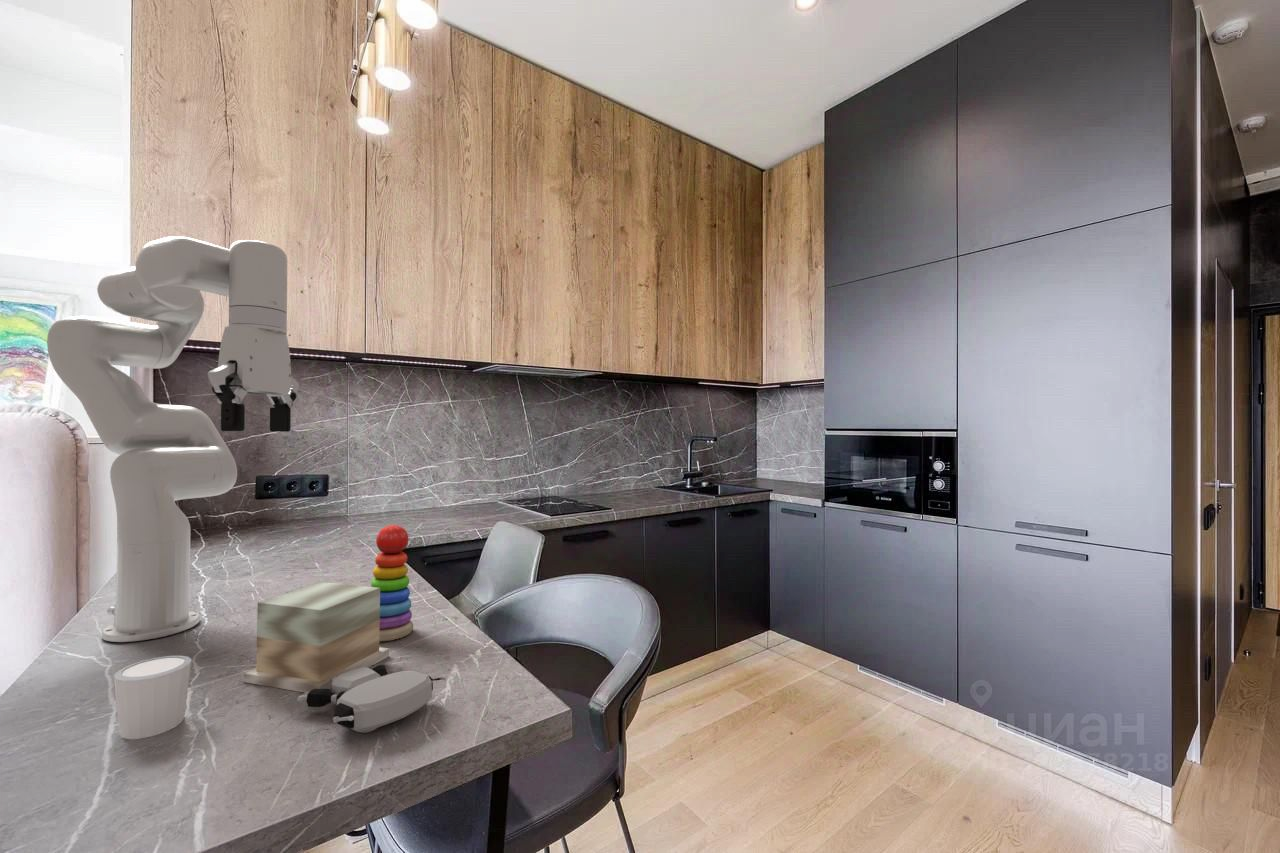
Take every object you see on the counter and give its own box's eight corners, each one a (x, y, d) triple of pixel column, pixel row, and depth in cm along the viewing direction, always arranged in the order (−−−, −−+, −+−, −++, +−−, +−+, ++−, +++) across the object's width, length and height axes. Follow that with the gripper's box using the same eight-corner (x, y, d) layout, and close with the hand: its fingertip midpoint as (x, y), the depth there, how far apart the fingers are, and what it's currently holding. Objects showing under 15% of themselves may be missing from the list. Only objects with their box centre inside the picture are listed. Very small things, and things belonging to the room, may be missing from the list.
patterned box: (243, 681, 75) (245, 603, 75) (321, 646, 88) (322, 579, 88) (319, 695, 72) (321, 613, 72) (389, 656, 84) (390, 586, 85)
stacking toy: (393, 645, 89) (395, 530, 89) (351, 641, 90) (353, 528, 91) (422, 628, 96) (424, 522, 97) (382, 624, 98) (384, 520, 98)
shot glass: (202, 718, 66) (203, 660, 66) (130, 748, 60) (132, 684, 60) (171, 706, 69) (173, 650, 69) (99, 733, 62) (101, 672, 62)
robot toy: (289, 723, 67) (355, 755, 59) (289, 685, 67) (354, 712, 59) (384, 685, 77) (451, 708, 69) (383, 652, 77) (450, 671, 69)
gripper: (275, 333, 95) (275, 431, 94) (187, 310, 77) (185, 431, 77) (317, 332, 94) (316, 431, 94) (237, 309, 77) (236, 430, 77)
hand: (257, 431), depth 85 cm, fingers open, 9 cm apart
